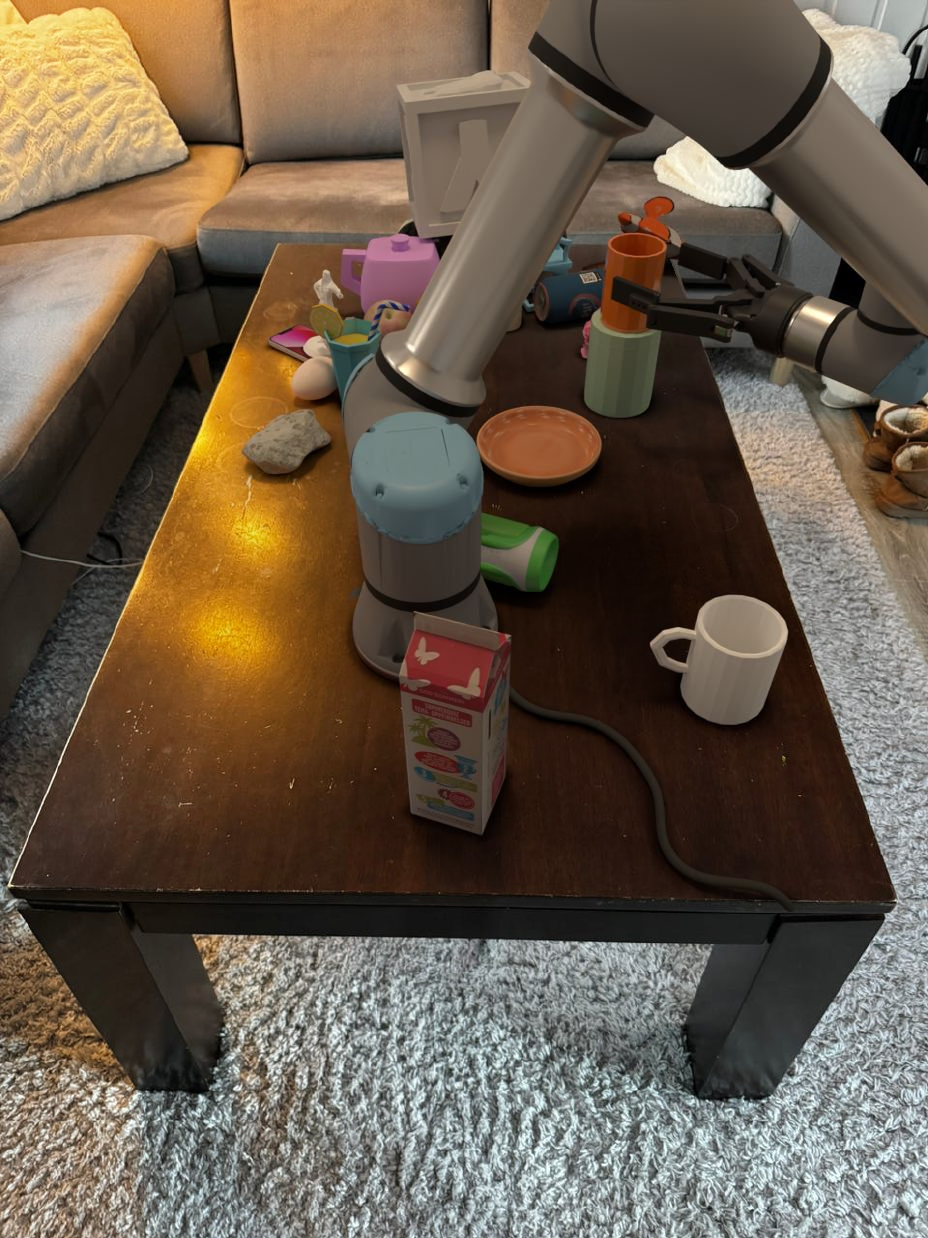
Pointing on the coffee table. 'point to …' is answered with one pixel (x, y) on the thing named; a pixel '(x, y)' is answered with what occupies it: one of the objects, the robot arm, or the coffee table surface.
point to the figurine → (324, 293)
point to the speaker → (517, 553)
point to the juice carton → (455, 719)
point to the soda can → (568, 296)
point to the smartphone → (293, 340)
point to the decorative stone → (286, 442)
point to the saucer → (539, 445)
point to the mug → (728, 658)
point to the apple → (389, 319)
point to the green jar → (620, 370)
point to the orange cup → (631, 277)
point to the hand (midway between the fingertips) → (647, 269)
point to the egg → (314, 379)
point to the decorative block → (453, 141)
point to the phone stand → (555, 265)
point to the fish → (654, 224)
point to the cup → (348, 337)
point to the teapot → (391, 270)
